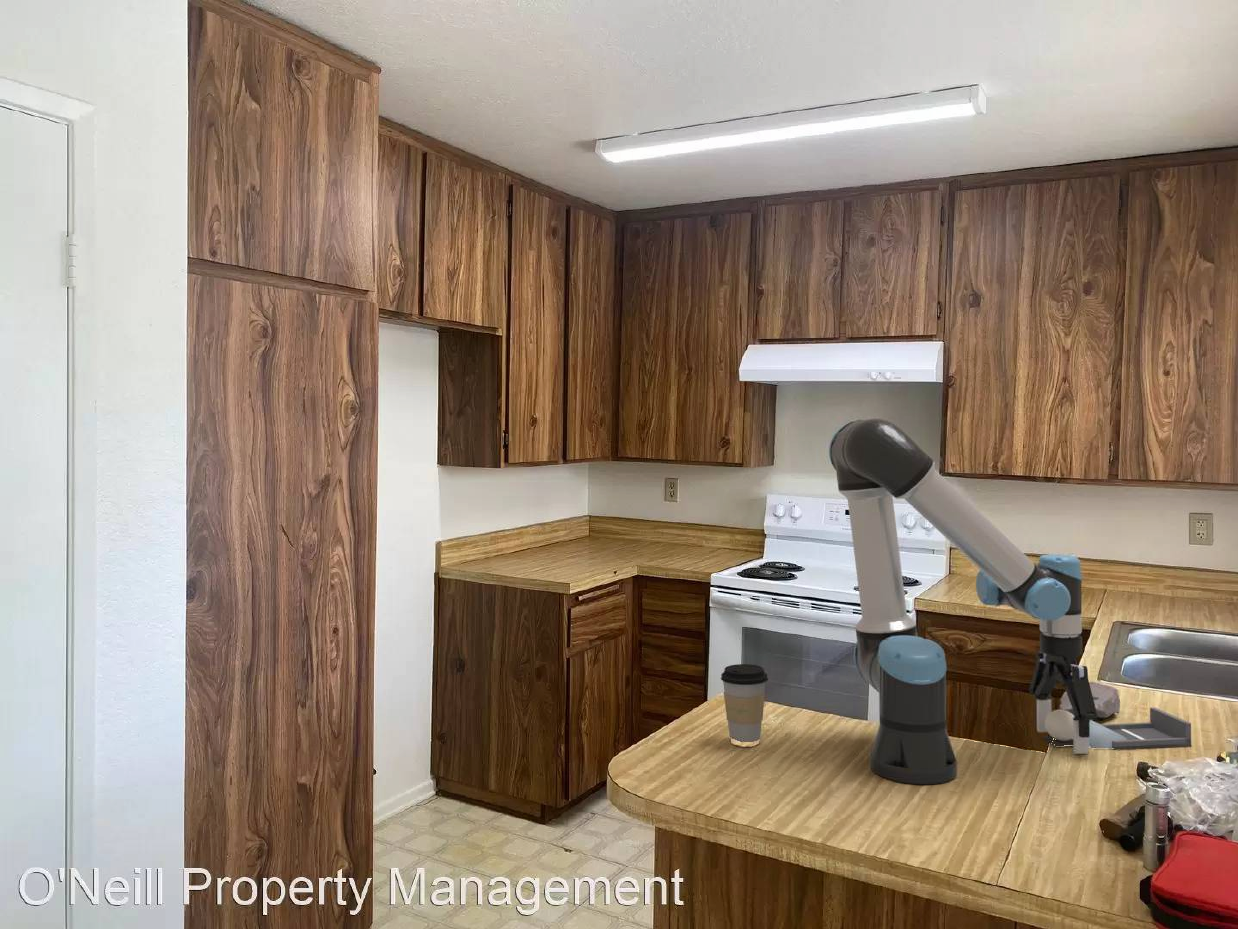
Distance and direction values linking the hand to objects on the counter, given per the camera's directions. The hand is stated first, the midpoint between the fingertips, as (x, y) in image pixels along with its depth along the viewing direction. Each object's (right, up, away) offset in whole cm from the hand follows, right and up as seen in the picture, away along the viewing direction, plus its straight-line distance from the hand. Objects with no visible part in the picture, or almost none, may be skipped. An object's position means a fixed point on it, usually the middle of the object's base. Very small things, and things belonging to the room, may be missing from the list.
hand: (1062, 742), depth 179 cm
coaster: (0, 0, 0) cm, 0 cm away
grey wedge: (+8, -5, +1) cm, 9 cm away
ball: (0, +3, 0) cm, 3 cm away
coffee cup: (-62, -2, +4) cm, 62 cm away
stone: (+15, 0, +18) cm, 23 cm away
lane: (+15, 0, +1) cm, 15 cm away
